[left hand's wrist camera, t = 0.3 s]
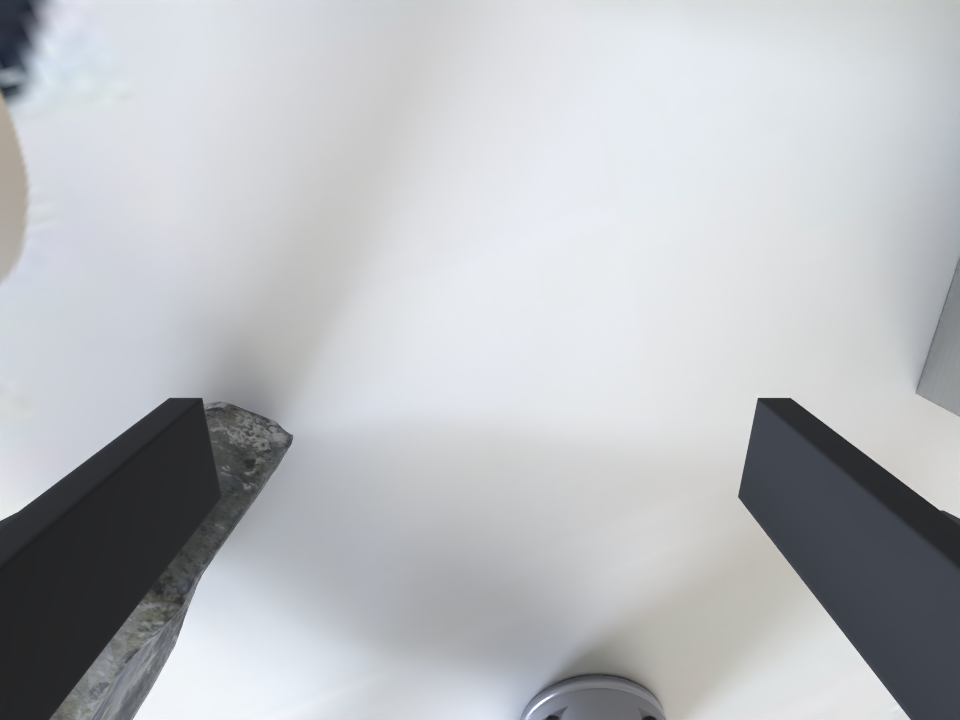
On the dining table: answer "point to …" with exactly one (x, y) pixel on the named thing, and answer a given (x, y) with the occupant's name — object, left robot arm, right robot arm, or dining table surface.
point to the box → (945, 356)
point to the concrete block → (180, 571)
